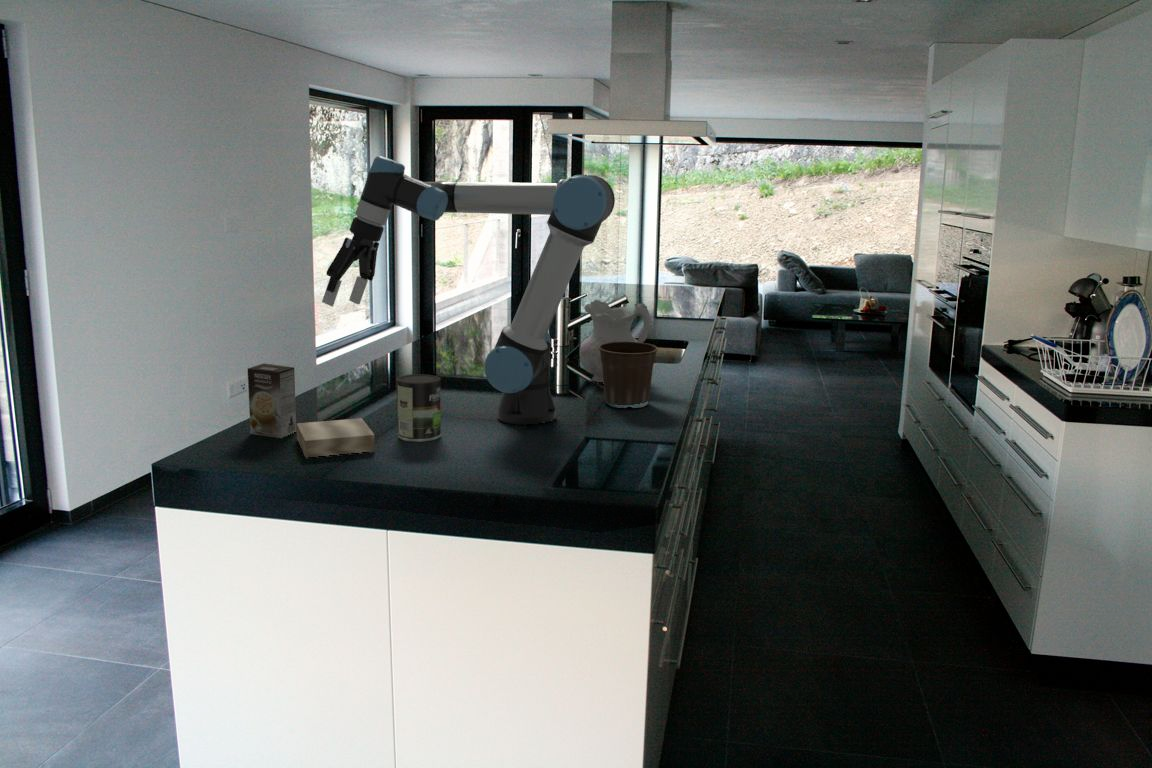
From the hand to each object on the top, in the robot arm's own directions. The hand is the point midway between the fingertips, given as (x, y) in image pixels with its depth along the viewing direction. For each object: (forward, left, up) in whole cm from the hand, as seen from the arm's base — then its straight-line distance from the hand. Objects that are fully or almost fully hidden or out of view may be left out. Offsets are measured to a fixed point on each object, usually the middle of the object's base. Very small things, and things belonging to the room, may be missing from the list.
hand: (341, 303), depth 231 cm
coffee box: (+18, +6, -30) cm, 35 cm away
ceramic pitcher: (-84, -21, -30) cm, 92 cm away
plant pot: (-75, +6, -30) cm, 81 cm away
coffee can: (-14, +19, -30) cm, 38 cm away
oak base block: (+6, +21, -30) cm, 37 cm away
